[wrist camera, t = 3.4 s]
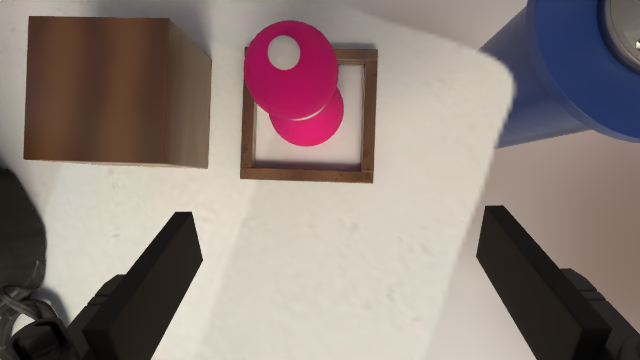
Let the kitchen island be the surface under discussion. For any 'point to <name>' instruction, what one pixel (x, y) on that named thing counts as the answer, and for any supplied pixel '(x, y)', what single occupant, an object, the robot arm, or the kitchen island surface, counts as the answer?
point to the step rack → (146, 98)
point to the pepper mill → (295, 81)
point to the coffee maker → (18, 259)
